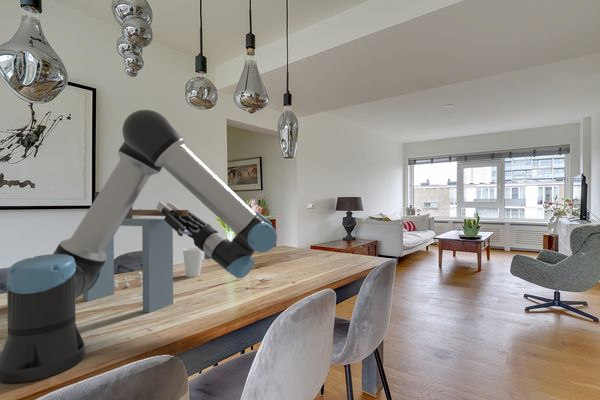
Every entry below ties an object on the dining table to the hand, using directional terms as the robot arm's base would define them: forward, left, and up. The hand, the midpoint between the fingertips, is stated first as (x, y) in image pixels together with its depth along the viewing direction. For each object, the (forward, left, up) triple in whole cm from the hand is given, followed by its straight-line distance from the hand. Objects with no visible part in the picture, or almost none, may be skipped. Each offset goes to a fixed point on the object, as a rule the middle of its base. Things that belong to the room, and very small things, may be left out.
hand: (163, 204), depth 107 cm
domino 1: (0, +31, -5) cm, 31 cm away
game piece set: (+21, +41, -36) cm, 58 cm away
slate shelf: (0, +18, -35) cm, 39 cm away
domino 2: (0, +19, -5) cm, 20 cm away
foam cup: (+41, +25, -35) cm, 59 cm away
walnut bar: (0, +2, -4) cm, 4 cm away
